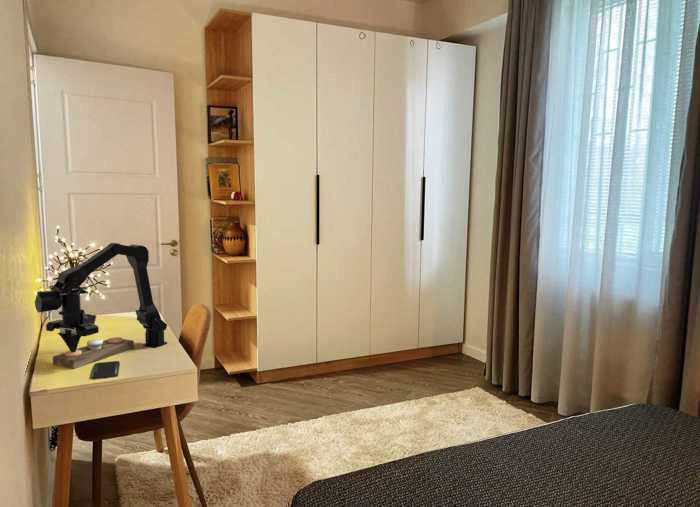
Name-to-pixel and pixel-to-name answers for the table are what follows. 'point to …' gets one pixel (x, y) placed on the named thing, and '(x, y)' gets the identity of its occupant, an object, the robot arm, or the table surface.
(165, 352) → the table surface
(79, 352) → the knob
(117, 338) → the knob
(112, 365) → the phone
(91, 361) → the knob mount
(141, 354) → the table surface
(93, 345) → the middle knob
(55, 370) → the table surface
